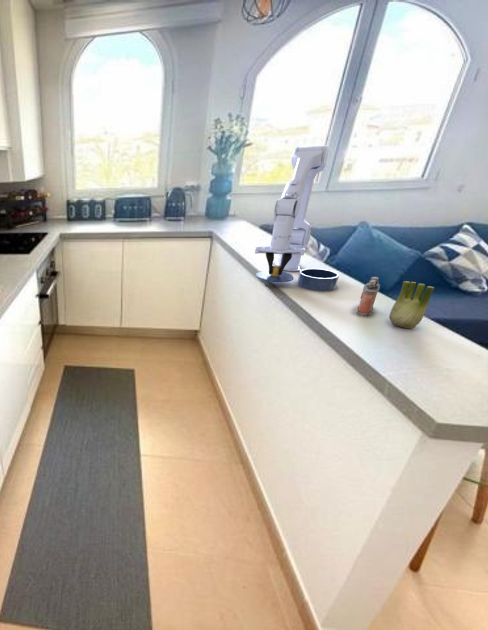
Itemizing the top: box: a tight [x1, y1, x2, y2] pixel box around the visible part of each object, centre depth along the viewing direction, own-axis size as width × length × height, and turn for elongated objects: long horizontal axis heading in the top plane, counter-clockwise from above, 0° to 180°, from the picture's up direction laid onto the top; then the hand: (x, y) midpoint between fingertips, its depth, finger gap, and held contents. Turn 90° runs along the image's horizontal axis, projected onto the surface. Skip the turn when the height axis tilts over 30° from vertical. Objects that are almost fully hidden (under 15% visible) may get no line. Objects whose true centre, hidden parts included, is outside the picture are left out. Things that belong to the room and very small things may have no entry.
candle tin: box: [297, 268, 340, 292], centre depth 118 cm, size 11×11×4 cm
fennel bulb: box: [388, 280, 435, 329], centre depth 87 cm, size 6×5×12 cm
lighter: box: [355, 276, 381, 317], centre depth 97 cm, size 8×3×10 cm, turn 135°
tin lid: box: [255, 264, 295, 283], centre depth 121 cm, size 12×12×5 cm
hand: (274, 273), depth 122 cm, fingers closed on tin lid, 2 cm apart
